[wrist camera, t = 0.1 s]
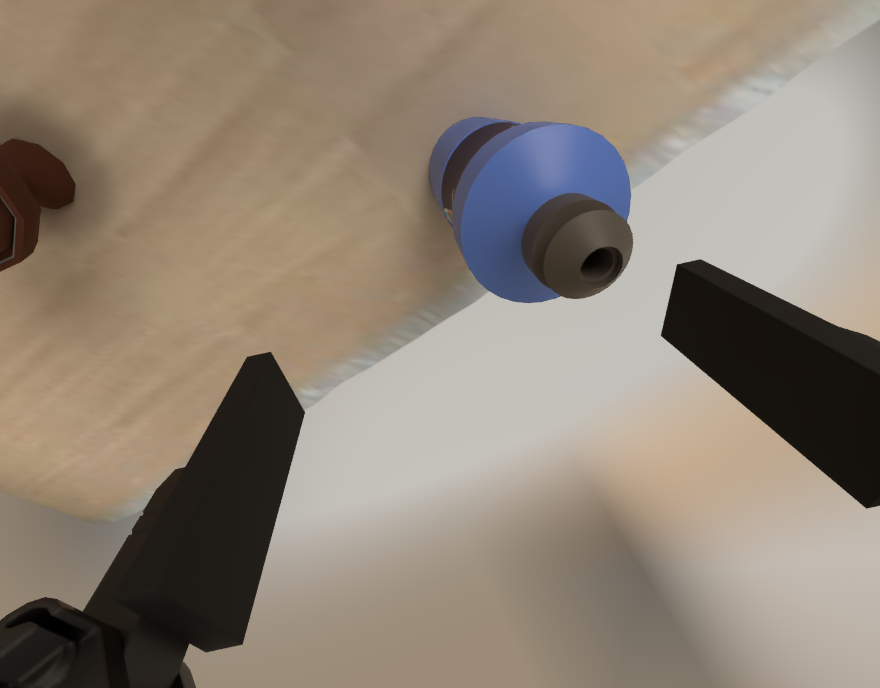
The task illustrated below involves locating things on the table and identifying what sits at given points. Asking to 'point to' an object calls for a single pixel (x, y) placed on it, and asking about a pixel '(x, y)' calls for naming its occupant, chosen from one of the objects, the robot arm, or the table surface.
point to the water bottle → (534, 206)
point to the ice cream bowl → (28, 196)
